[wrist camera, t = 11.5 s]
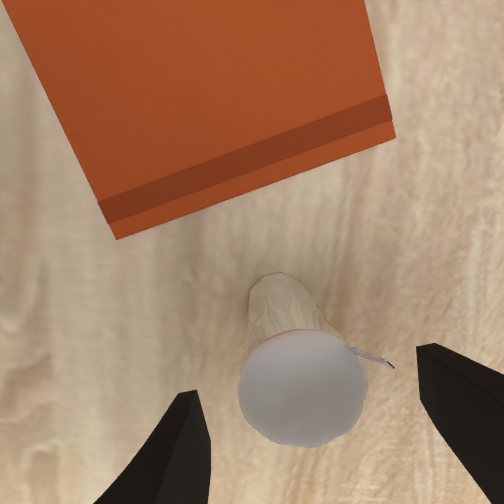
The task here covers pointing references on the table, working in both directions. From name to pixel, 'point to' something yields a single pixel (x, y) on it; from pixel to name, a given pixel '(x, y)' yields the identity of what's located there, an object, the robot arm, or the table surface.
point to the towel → (203, 94)
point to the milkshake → (298, 368)
